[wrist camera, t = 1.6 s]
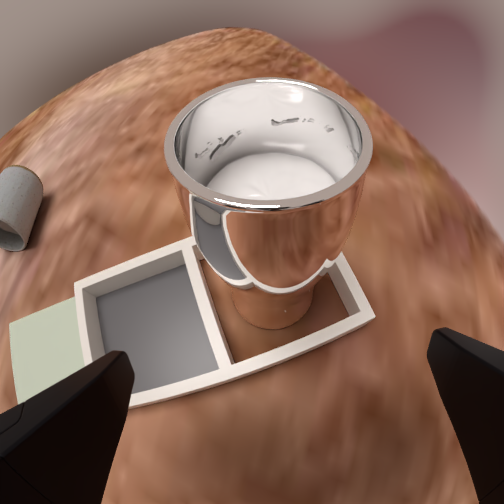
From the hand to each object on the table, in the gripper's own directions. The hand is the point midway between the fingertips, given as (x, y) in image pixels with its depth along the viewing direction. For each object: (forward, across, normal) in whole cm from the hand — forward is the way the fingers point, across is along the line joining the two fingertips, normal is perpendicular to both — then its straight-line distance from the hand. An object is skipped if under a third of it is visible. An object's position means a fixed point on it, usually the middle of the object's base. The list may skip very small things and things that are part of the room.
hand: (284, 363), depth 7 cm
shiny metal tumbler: (+14, 0, +5) cm, 15 cm away
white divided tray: (+11, +10, +7) cm, 16 cm away
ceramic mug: (+20, +30, -2) cm, 37 cm away
